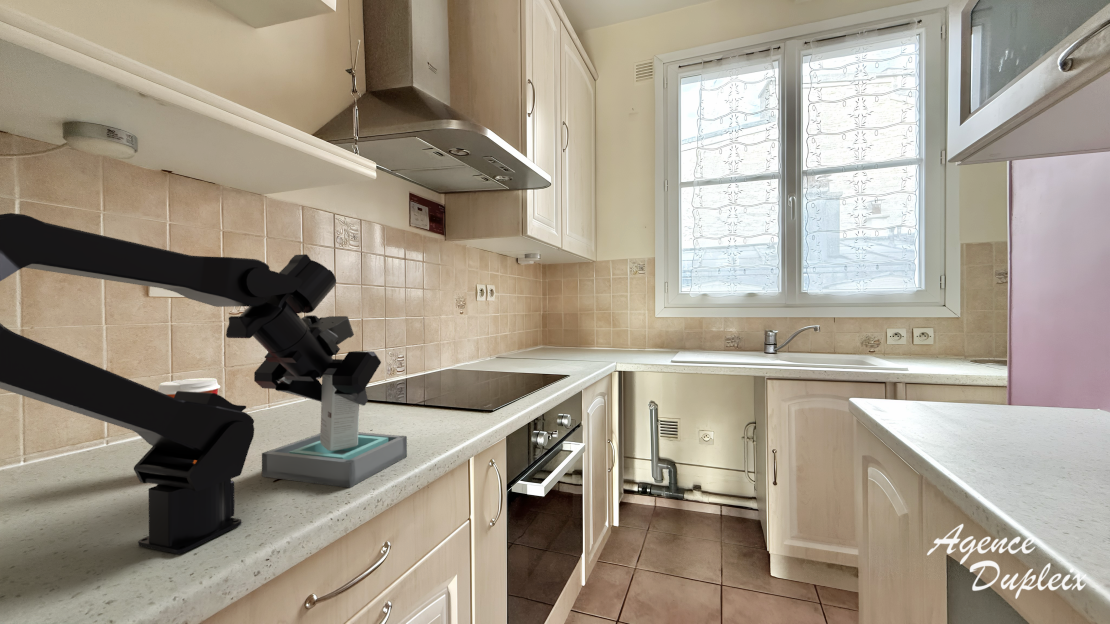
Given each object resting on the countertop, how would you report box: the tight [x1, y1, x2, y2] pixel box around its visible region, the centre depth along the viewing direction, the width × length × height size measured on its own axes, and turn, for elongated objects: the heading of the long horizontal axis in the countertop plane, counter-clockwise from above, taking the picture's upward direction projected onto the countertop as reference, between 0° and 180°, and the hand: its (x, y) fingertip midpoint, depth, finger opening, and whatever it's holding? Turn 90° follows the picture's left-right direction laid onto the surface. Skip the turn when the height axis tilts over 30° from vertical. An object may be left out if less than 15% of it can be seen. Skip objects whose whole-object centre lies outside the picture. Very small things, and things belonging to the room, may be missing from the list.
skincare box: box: [320, 375, 360, 451], centre depth 67 cm, size 6×4×12 cm
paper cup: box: [156, 377, 221, 464], centre depth 66 cm, size 8×8×14 cm
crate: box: [261, 431, 408, 489], centre depth 67 cm, size 13×16×4 cm
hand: (346, 401), depth 68 cm, fingers closed on skincare box, 7 cm apart
